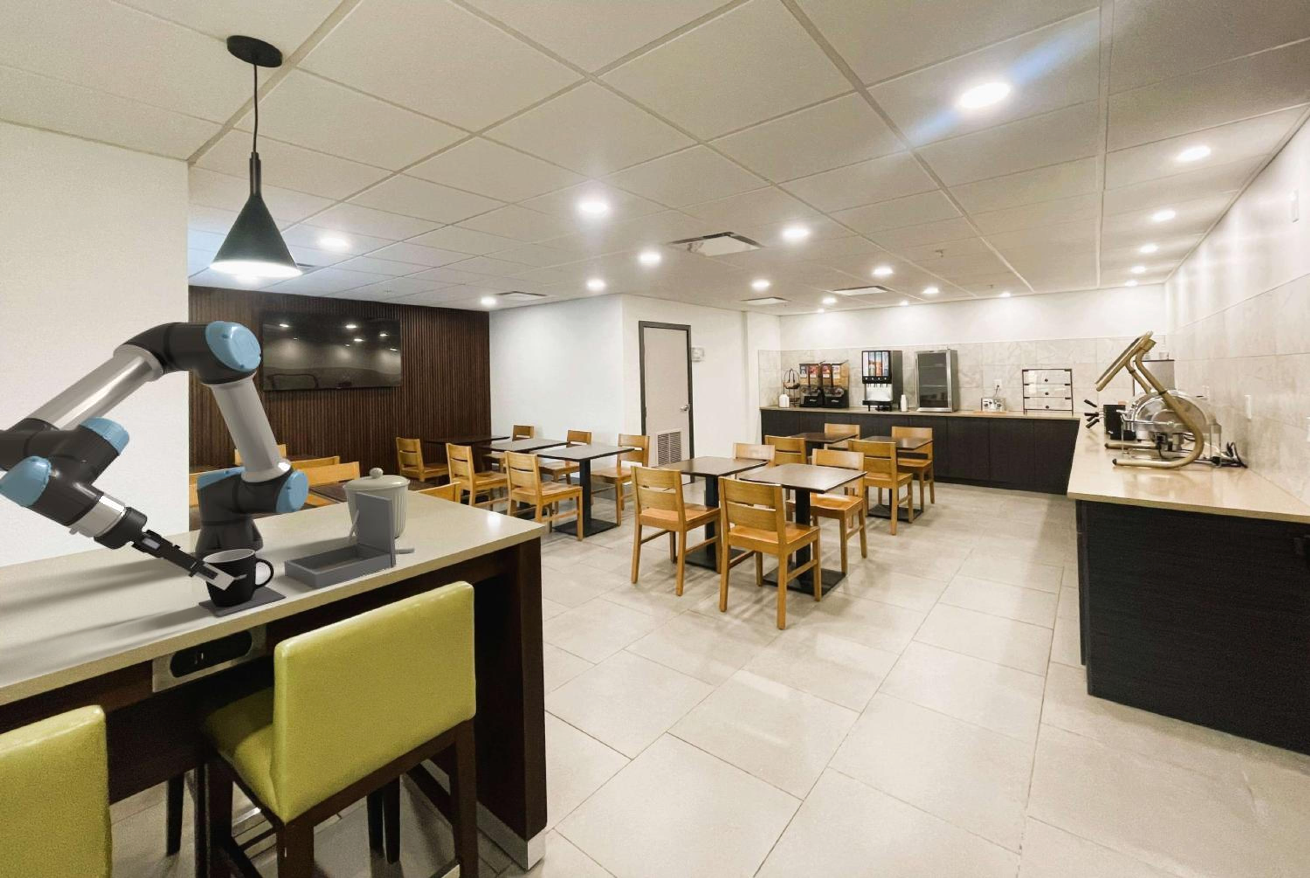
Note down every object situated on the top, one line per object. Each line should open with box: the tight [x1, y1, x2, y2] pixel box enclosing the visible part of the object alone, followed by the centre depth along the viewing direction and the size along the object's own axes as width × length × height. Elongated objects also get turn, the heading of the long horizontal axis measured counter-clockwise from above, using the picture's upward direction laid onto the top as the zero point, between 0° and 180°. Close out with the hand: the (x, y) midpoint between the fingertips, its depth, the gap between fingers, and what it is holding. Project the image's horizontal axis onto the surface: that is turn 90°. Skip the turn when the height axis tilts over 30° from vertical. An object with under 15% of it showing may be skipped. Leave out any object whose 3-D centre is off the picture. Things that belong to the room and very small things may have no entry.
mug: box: [202, 549, 275, 607], centre depth 120 cm, size 12×9×10 cm
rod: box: [395, 547, 416, 554], centre depth 153 cm, size 12×1×1 cm, turn 102°
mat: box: [198, 585, 287, 618], centre depth 121 cm, size 12×12×1 cm
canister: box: [341, 467, 411, 539], centre depth 168 cm, size 18×18×21 cm
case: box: [283, 492, 397, 590], centre depth 139 cm, size 17×19×17 cm
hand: (216, 577), depth 116 cm, fingers open, 13 cm apart
